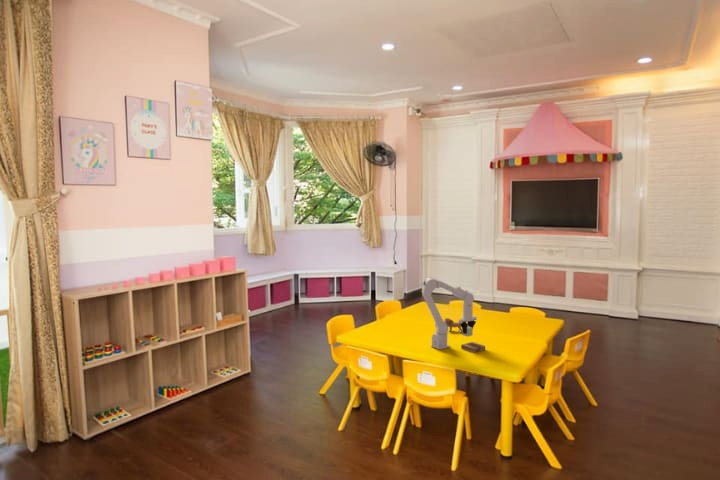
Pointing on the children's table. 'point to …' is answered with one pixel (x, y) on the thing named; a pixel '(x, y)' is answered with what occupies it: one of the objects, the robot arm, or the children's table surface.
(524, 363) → the children's table surface
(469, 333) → the sage block
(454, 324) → the lion figurine
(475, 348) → the walnut plinth
